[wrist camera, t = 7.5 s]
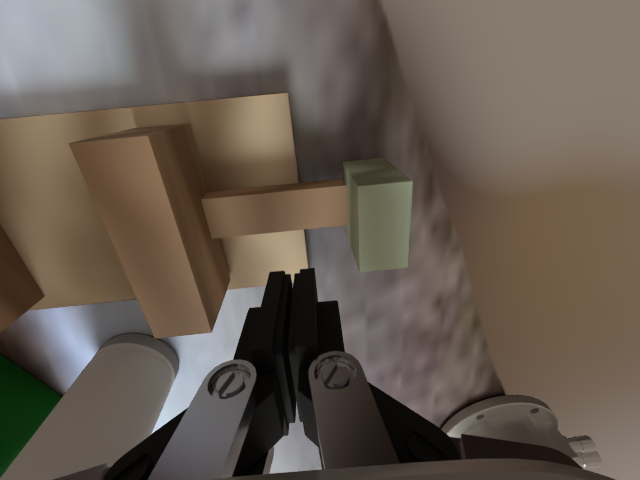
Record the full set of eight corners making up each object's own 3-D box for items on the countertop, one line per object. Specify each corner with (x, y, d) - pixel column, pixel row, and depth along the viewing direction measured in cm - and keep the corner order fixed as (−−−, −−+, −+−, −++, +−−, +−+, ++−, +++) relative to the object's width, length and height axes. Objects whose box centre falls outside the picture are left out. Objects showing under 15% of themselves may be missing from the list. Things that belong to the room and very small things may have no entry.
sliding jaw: (384, 104, 16) (416, 110, 12) (381, 263, 21) (404, 311, 16) (133, 128, 16) (68, 143, 11) (186, 284, 20) (155, 338, 16)
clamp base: (288, 92, 17) (281, 94, 10) (308, 271, 22) (313, 345, 16) (-112, 129, 16) (-375, 154, 10) (8, 303, 22) (-113, 391, 15)
